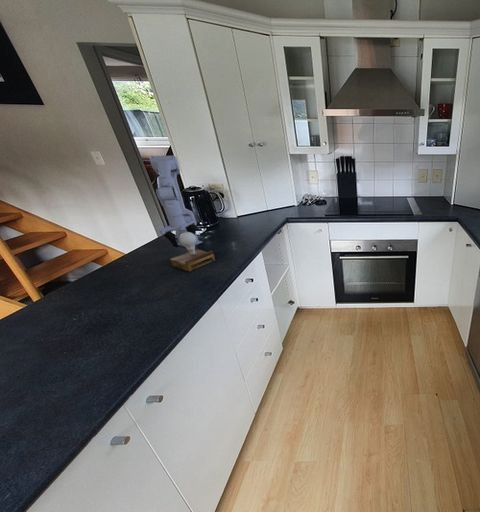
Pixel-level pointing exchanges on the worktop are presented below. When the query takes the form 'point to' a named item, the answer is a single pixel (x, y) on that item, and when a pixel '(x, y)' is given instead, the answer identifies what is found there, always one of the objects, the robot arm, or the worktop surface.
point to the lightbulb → (188, 242)
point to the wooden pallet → (193, 260)
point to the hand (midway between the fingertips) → (184, 243)
